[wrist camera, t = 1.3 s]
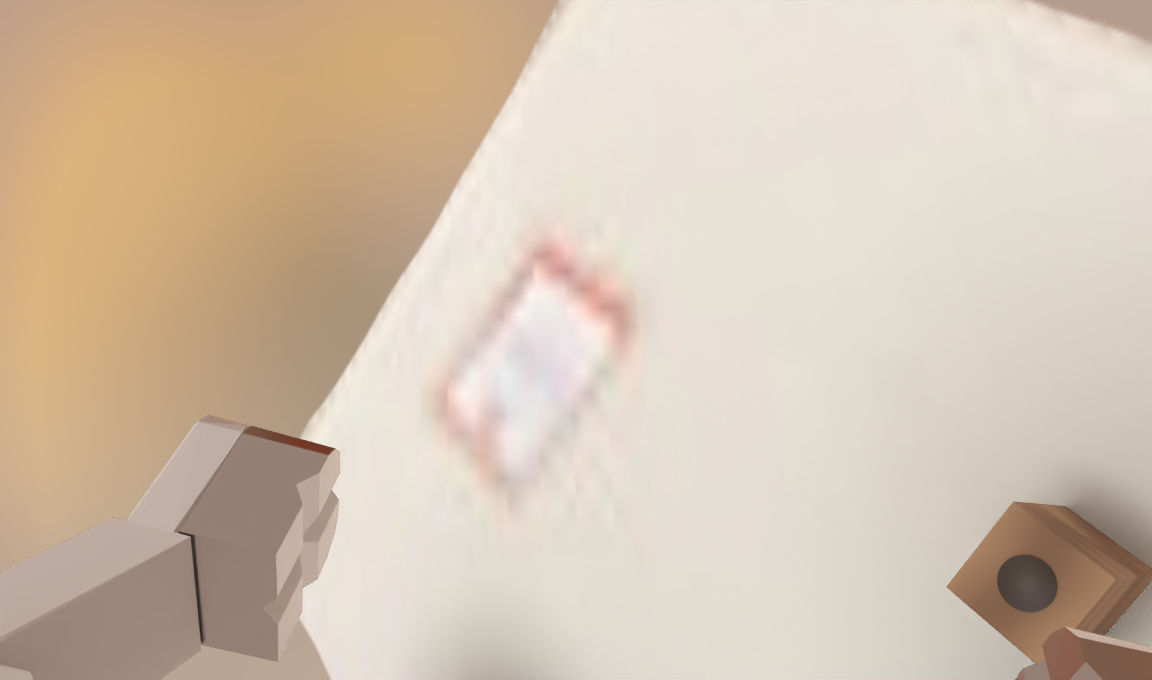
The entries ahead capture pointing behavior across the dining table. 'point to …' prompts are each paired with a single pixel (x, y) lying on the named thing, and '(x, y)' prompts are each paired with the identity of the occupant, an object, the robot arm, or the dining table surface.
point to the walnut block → (1048, 577)
